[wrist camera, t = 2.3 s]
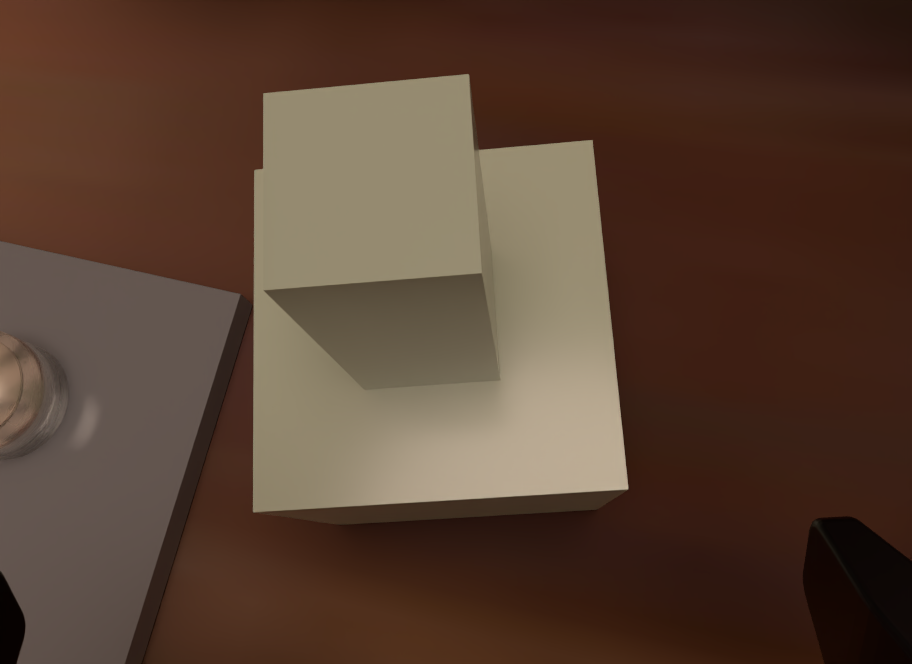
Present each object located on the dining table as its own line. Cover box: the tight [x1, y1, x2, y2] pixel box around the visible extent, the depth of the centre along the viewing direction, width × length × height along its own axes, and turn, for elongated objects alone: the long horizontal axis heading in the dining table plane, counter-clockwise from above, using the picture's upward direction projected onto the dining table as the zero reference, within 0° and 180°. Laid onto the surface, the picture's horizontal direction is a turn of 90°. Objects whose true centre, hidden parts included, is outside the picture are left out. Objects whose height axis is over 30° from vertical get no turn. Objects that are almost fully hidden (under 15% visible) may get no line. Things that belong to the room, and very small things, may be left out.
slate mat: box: [0, 241, 252, 664], centre depth 22 cm, size 12×9×1 cm
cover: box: [253, 74, 628, 525], centre depth 16 cm, size 6×6×13 cm
